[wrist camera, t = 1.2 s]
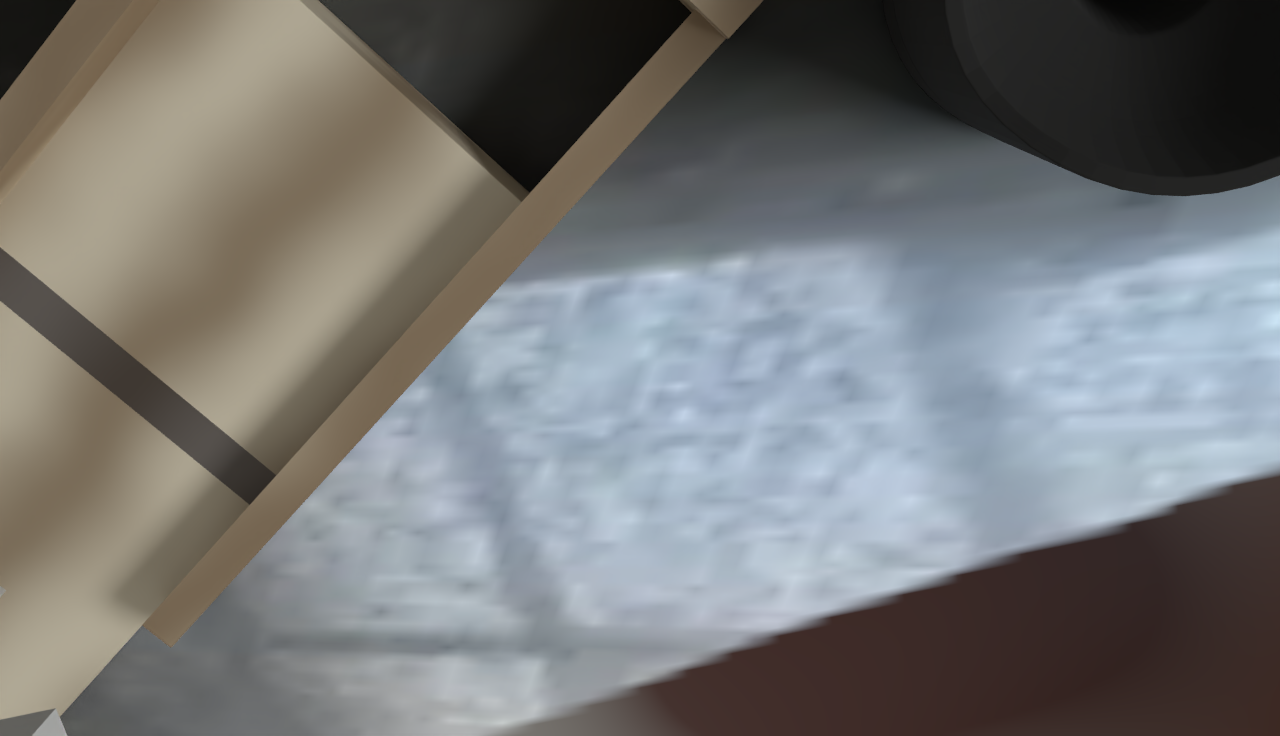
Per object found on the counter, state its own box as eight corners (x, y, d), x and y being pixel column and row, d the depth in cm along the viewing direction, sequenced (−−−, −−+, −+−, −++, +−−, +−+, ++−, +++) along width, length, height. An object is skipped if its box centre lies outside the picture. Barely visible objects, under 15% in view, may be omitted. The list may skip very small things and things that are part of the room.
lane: (-297, 563, 37) (-442, 641, 32) (403, -337, 30) (353, -410, 25) (25, 802, 39) (-66, 909, 34) (750, 4, 32) (766, -3, 27)
